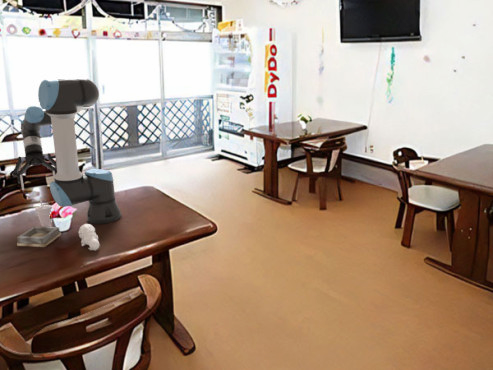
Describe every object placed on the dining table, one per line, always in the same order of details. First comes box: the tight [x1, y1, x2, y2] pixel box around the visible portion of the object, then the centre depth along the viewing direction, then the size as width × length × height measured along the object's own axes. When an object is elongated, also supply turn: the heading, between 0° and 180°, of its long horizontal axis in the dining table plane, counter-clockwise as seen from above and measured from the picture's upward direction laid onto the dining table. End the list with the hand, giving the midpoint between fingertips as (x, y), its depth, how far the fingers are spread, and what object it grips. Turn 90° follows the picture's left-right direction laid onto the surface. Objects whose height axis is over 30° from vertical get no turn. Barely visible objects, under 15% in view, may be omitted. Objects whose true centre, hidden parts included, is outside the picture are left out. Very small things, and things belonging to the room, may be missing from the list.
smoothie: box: [35, 197, 52, 227], centre depth 186 cm, size 6×6×14 cm
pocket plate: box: [16, 225, 62, 248], centre depth 175 cm, size 12×12×4 cm
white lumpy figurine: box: [78, 223, 101, 251], centre depth 167 cm, size 6×8×12 cm
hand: (39, 186), depth 193 cm, fingers open, 13 cm apart
